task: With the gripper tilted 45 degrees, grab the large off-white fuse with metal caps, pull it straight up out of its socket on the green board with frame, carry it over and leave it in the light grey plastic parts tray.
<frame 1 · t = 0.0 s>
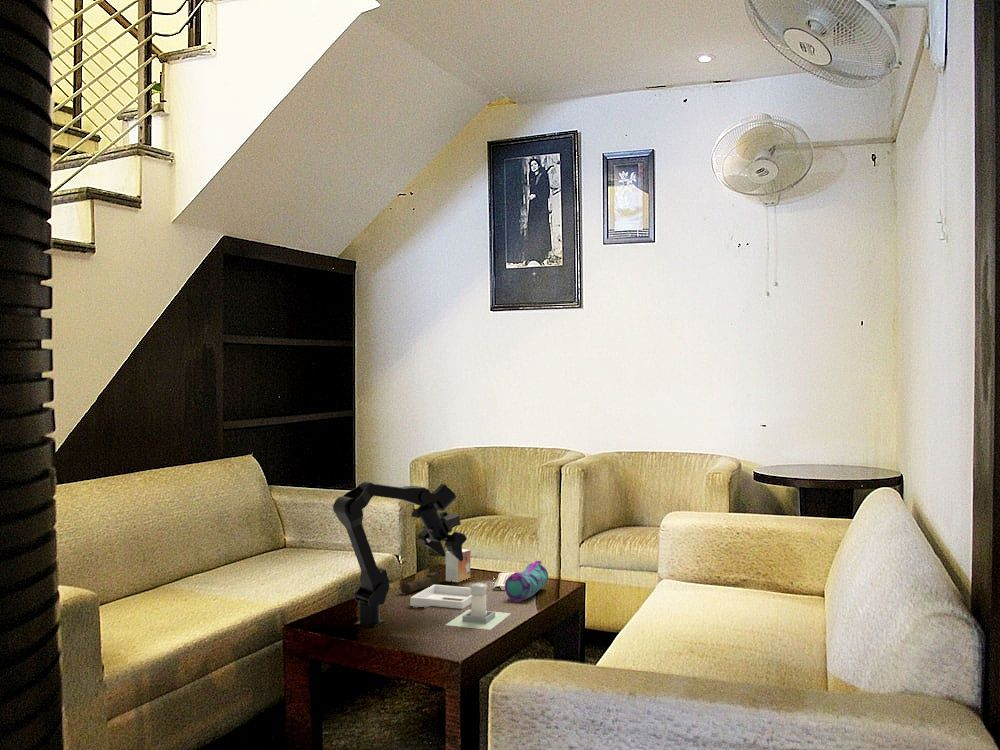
hand: (453, 558, 271), 15 cm above the table, tool tilted 35°, fingers open, 9 cm apart
small box: (458, 580, 306), on the table
fuse: (478, 619, 252), point 1 cm above the table, touching green board with frame
newspaper: (508, 585, 300), on the table
parts tray: (447, 602, 275), on the table
hand tool: (421, 589, 293), on the table
green board with frame: (478, 622, 252), on the table
pencil case: (527, 595, 284), on the table
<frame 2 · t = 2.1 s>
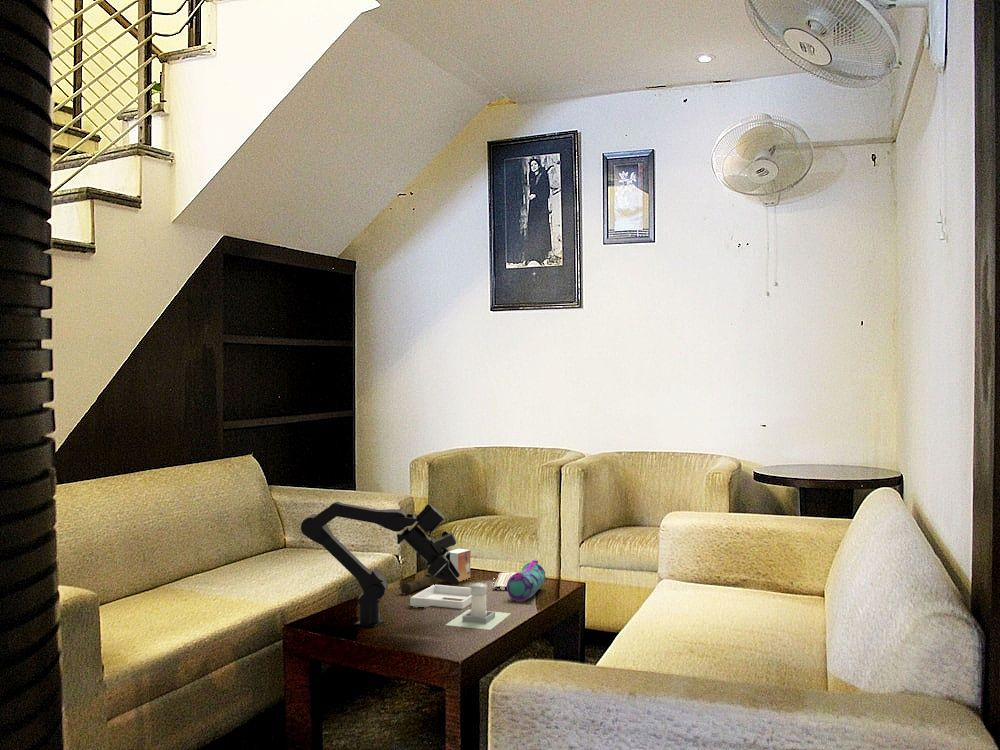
hand: (458, 580, 251), 13 cm above the table, tool tilted 45°, fingers open, 9 cm apart
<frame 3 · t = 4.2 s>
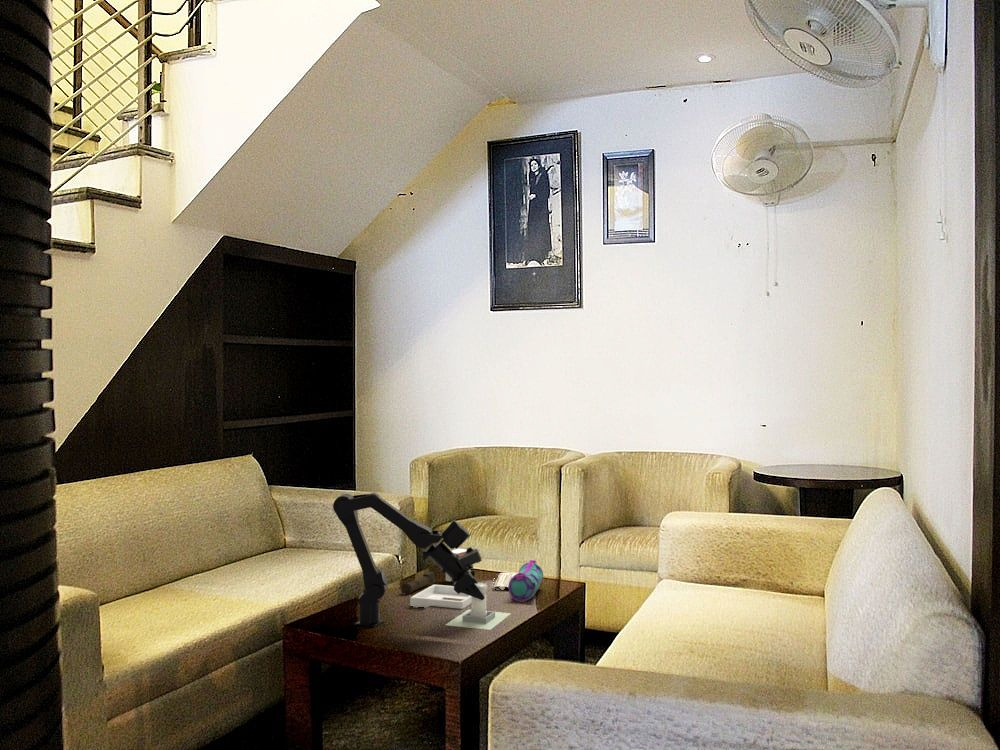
hand: (483, 596, 252), 8 cm above the table, tool tilted 45°, fingers closed on fuse, 5 cm apart
fuse: (478, 619, 252), point 1 cm above the table, touching green board with frame, gripper
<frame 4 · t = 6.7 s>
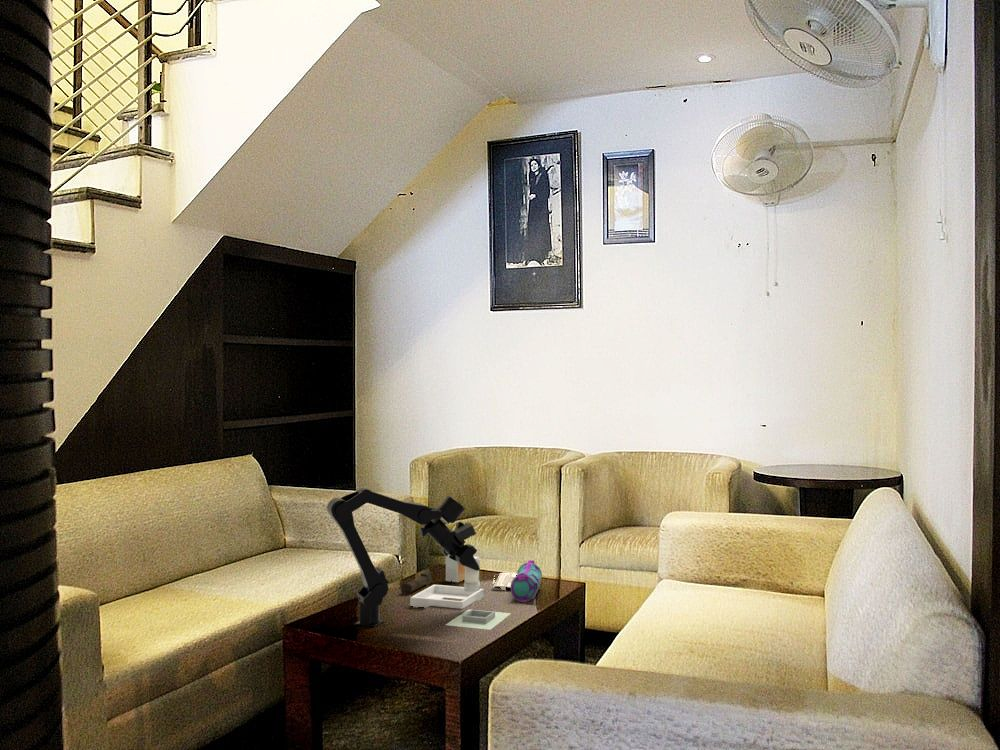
hand: (476, 568, 264), 13 cm above the table, tool tilted 45°, fingers closed on fuse, 5 cm apart
fuse: (471, 589, 263), point 7 cm above the table, touching gripper
when the fingers open (8 cm above the table, at t = 9.3 s): fuse drops 1 cm, resting on parts tray.
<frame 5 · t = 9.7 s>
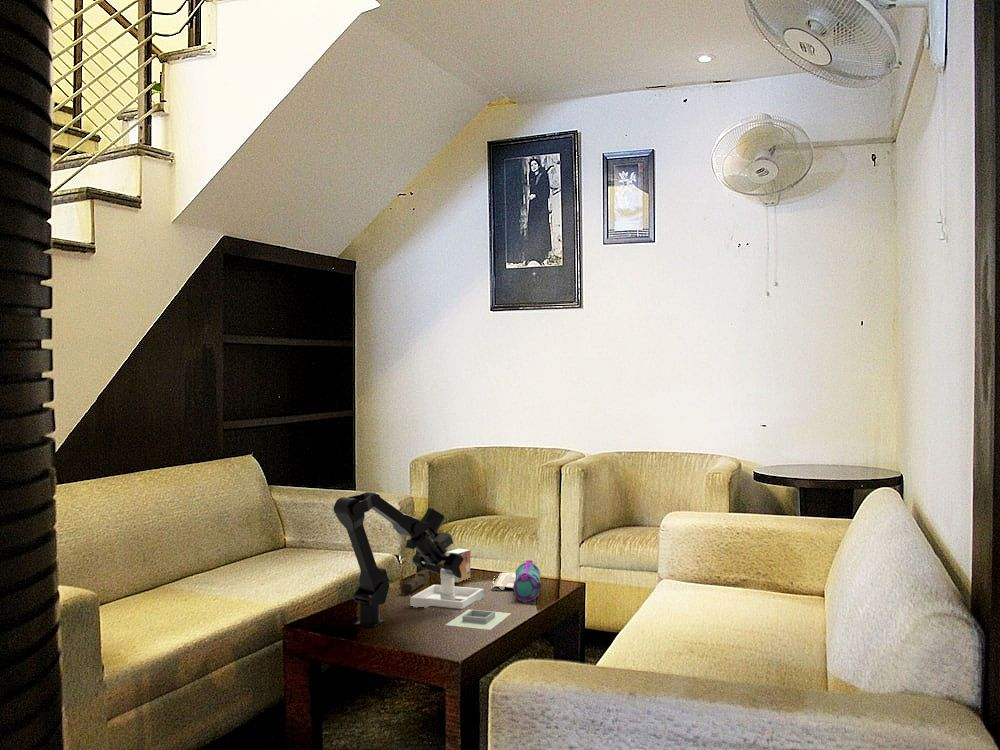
hand: (450, 575, 276), 9 cm above the table, tool tilted 45°, fingers open, 9 cm apart
fuse: (447, 600, 275), point 1 cm above the table, touching parts tray
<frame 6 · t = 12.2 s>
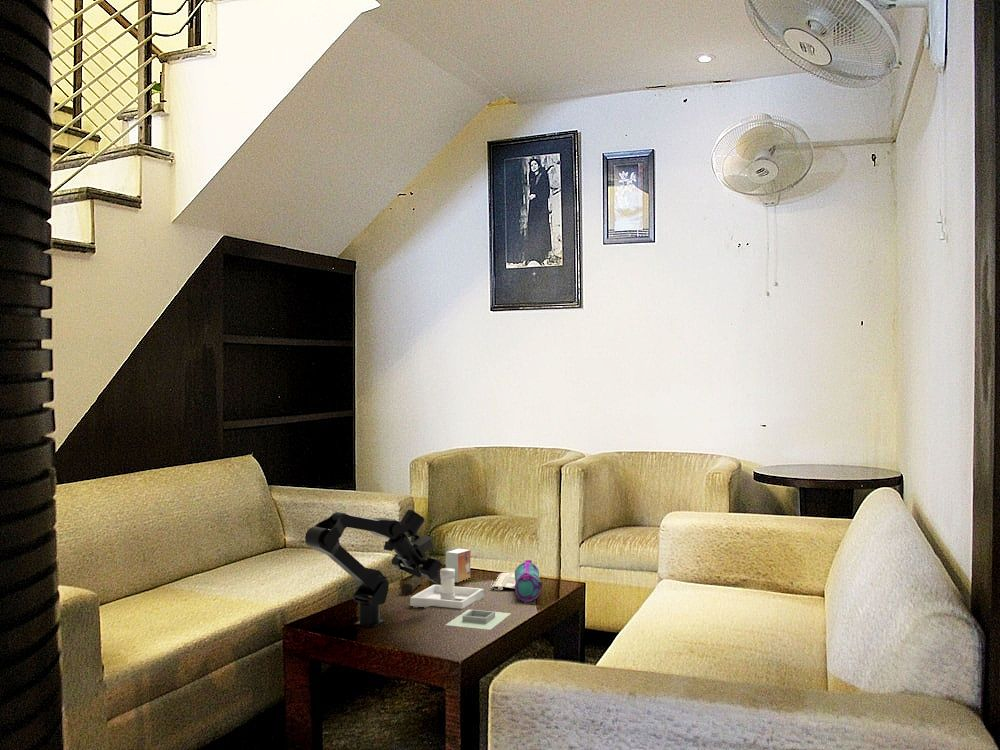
hand: (429, 579, 269), 9 cm above the table, tool tilted 45°, fingers open, 9 cm apart
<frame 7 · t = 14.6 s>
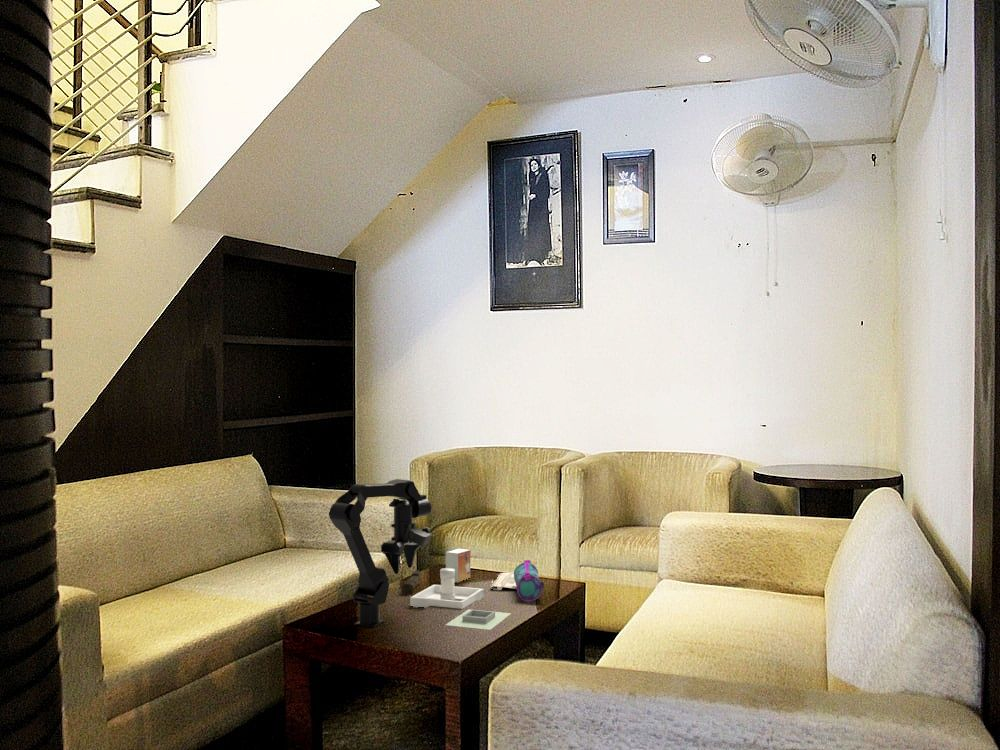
hand: (403, 570, 262), 13 cm above the table, tool pointing down, fingers open, 9 cm apart
at the end: fuse inside the target area on the parts tray (0.0 cm from its centre), point 0.6 cm above the parts tray's base; fuse moved 25.5 cm from its start; the gripper is holding nothing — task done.
